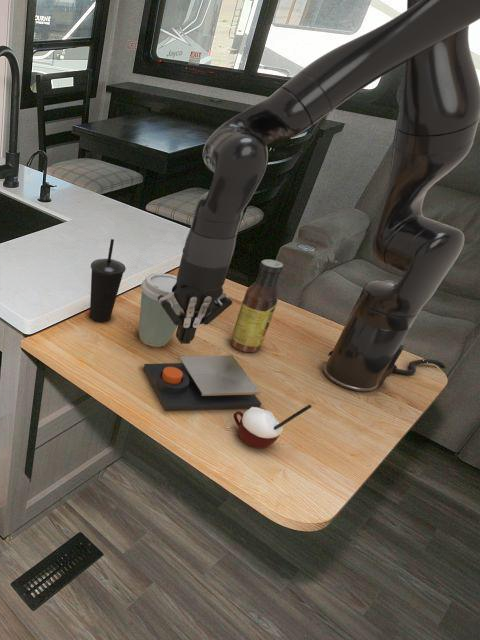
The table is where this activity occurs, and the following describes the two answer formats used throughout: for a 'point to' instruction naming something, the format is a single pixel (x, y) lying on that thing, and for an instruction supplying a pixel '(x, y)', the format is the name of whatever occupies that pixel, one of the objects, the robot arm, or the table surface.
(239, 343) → the sauce bottle
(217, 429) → the table surface
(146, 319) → the disposable coffee cup
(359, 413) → the table surface
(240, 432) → the cocoa
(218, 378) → the weighing plate
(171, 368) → the power button
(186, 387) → the scale
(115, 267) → the drinking cup
